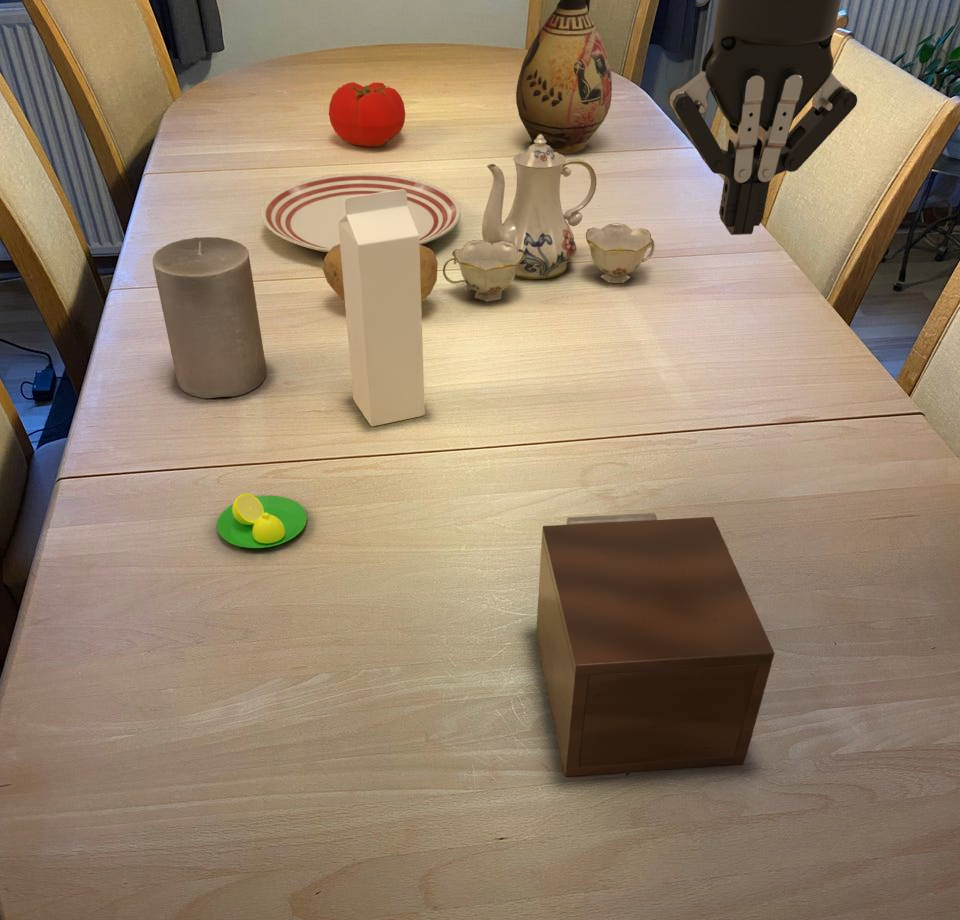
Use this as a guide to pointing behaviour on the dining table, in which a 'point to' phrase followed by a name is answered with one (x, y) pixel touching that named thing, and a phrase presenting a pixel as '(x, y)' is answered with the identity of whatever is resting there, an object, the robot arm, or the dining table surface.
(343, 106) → the tomato
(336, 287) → the potato
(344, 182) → the dinner plate
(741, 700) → the cabinet
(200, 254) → the pillar candle
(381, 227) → the milk
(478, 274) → the chinaware
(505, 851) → the dining table surface
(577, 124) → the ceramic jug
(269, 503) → the lemon halves on plate
